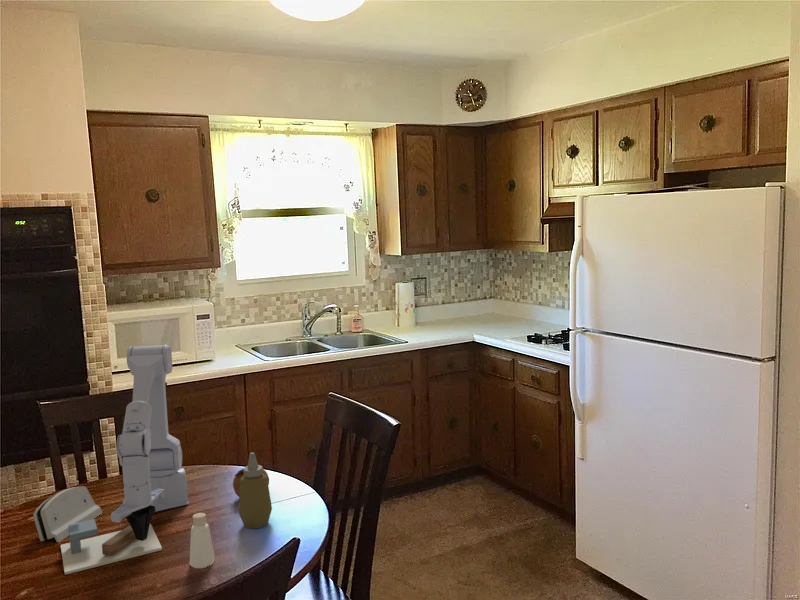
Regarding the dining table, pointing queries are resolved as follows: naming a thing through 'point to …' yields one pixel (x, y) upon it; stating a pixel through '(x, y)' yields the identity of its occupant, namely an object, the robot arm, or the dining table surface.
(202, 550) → the pepper shaker
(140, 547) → the keeper board
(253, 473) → the squeeze bottle
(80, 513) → the white rounded block
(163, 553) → the dining table surface
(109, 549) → the link arm
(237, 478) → the onion
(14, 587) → the dining table surface
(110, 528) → the dining table surface
